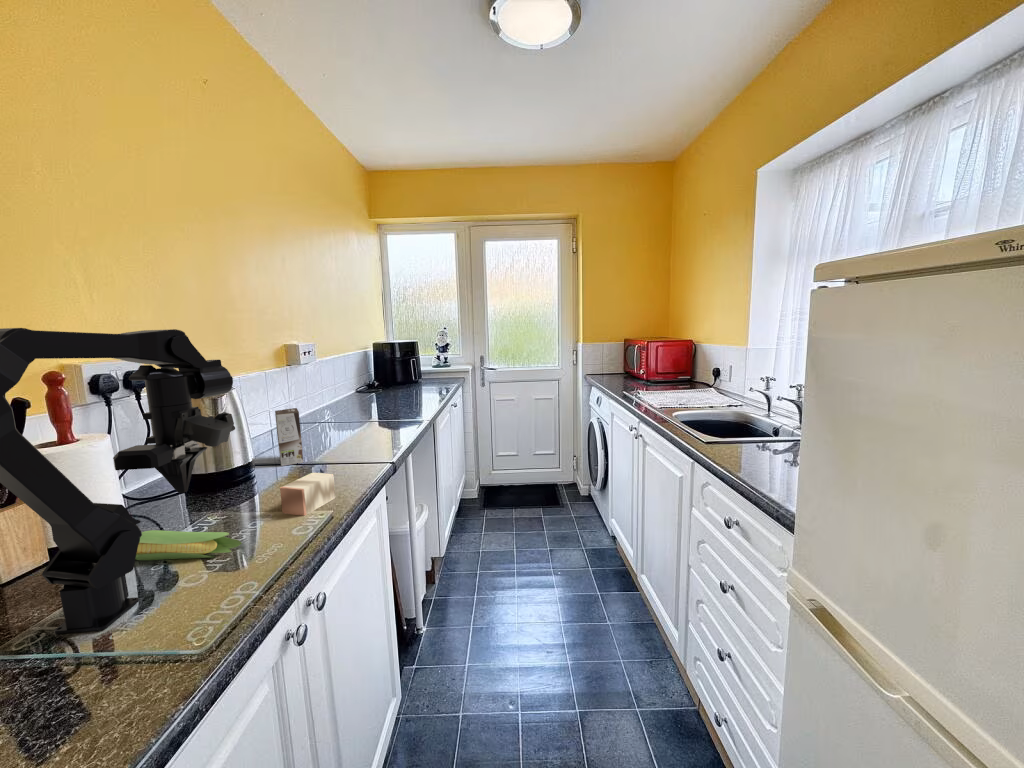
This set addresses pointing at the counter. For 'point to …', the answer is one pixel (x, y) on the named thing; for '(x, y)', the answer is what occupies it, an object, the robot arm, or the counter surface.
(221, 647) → the counter surface
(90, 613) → the robot arm
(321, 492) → the marked block
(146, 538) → the edible corn
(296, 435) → the coffee box
